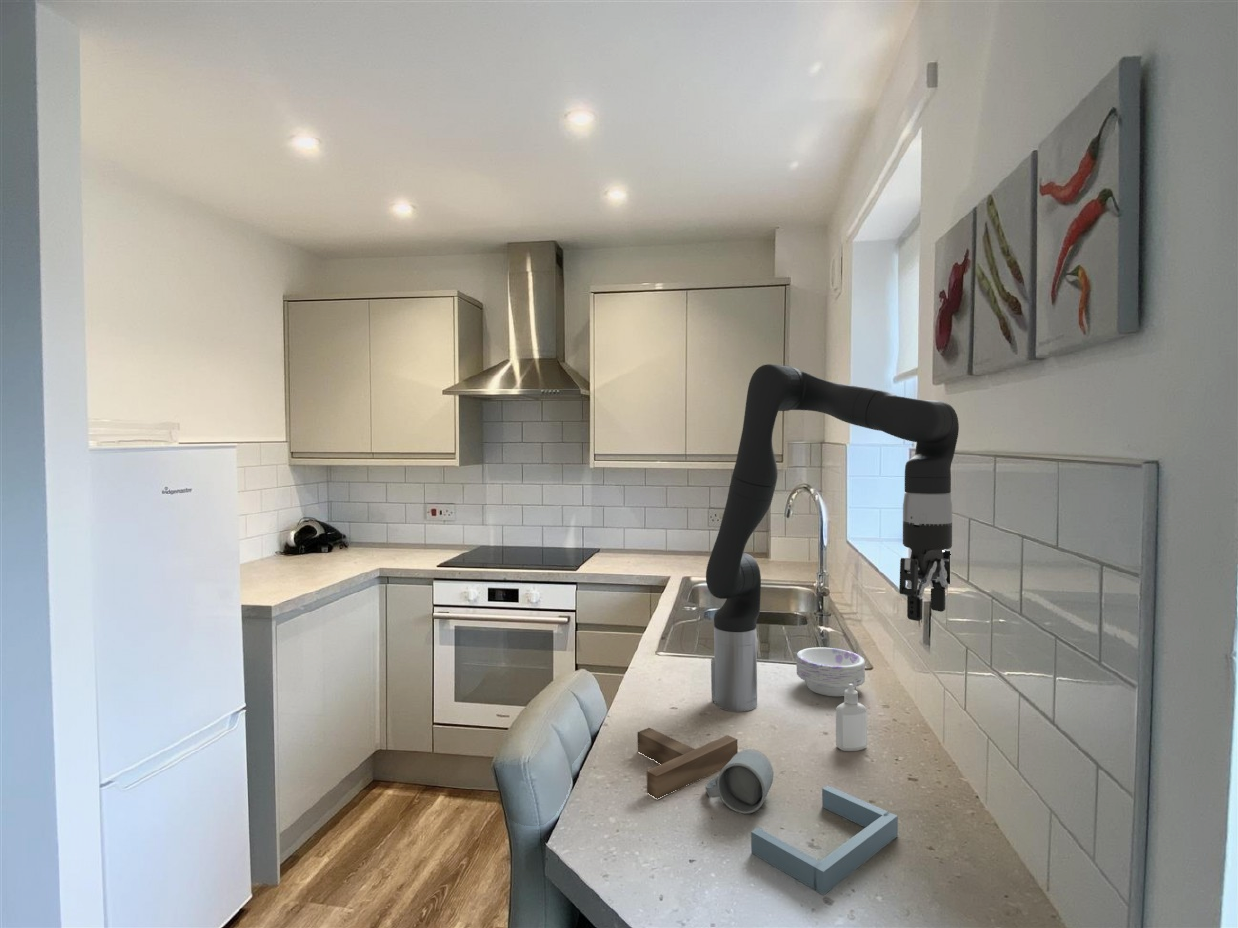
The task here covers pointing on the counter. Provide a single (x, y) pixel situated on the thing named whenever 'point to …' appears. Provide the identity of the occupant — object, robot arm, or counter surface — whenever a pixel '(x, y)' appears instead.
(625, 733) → the counter surface
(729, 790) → the ceramic mug
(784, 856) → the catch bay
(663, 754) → the scraper
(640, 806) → the counter surface
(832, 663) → the paper bowls
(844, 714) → the eye dropper bottle
